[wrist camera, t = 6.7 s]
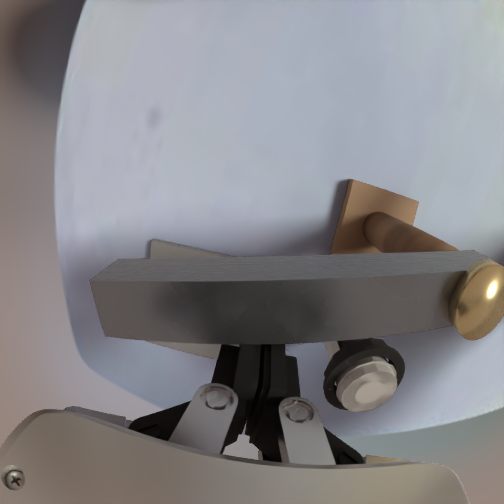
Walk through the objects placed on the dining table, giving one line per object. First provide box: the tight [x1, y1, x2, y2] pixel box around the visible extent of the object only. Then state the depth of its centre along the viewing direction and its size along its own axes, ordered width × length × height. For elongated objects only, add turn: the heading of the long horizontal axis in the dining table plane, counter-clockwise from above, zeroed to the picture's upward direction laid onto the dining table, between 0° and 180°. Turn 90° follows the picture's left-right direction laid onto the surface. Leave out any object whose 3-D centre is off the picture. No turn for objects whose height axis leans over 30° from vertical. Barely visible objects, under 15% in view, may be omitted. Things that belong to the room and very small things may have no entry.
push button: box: [323, 338, 405, 412], centre depth 19 cm, size 7×5×10 cm
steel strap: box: [90, 250, 504, 344], centre depth 10 cm, size 3×17×3 cm, turn 92°
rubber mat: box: [145, 239, 239, 359], centre depth 24 cm, size 12×10×1 cm
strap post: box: [330, 179, 459, 255], centre depth 16 cm, size 6×6×10 cm
